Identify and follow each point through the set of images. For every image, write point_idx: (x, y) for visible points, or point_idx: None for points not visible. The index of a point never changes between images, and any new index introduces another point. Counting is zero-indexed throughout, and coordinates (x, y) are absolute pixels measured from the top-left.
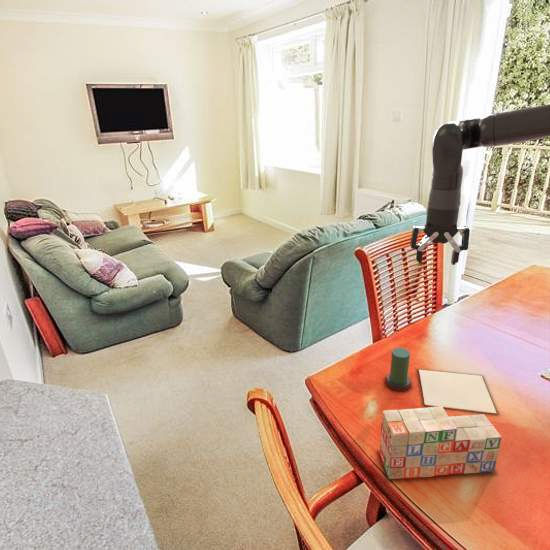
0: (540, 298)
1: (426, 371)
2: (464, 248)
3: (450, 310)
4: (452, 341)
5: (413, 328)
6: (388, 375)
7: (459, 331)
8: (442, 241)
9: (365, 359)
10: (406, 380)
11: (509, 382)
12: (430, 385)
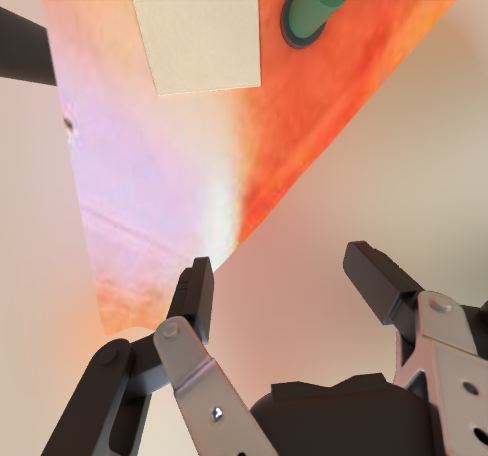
0: (105, 317)
1: (248, 82)
2: (120, 352)
3: None
4: (206, 193)
5: (261, 215)
6: (323, 24)
7: (197, 222)
8: (310, 408)
9: (349, 97)
10: (292, 2)
11: (113, 89)
12: (242, 28)
